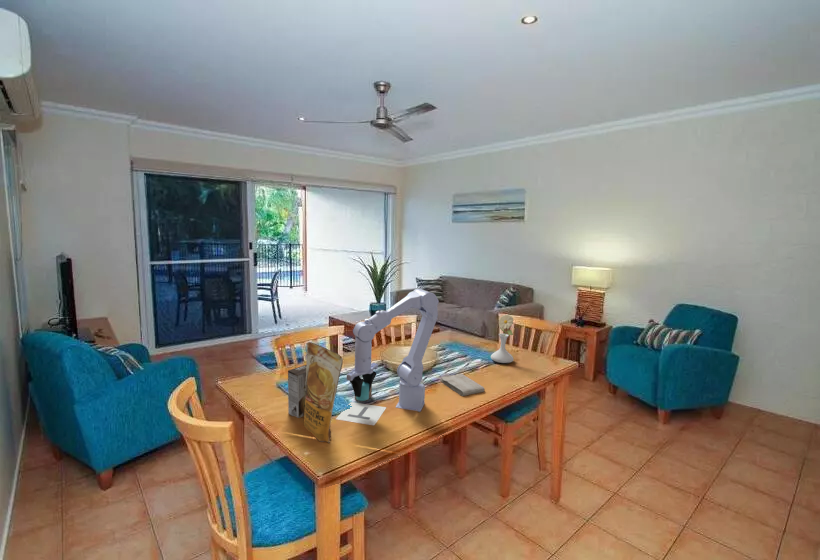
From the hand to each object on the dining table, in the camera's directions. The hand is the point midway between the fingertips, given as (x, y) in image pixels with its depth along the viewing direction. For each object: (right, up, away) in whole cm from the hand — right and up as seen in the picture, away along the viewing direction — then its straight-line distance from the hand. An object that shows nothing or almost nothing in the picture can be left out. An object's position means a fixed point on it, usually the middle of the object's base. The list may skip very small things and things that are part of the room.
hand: (362, 393), depth 144 cm
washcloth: (+39, -6, +30) cm, 49 cm away
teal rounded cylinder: (0, -2, 0) cm, 2 cm away
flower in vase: (+64, -1, +62) cm, 89 cm away
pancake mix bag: (-13, -9, -11) cm, 19 cm away
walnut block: (-1, -6, +14) cm, 15 cm away
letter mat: (0, -8, +1) cm, 8 cm away
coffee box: (-21, -7, +1) cm, 22 cm away
